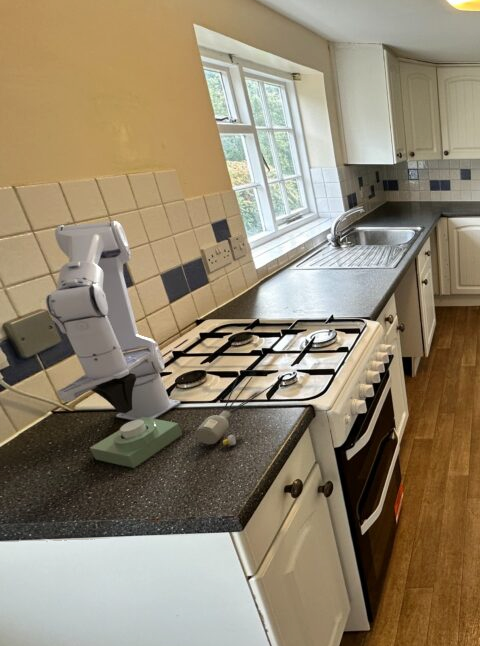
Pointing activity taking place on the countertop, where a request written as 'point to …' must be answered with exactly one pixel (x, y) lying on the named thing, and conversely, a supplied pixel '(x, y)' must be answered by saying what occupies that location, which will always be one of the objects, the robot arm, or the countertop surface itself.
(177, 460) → the countertop surface
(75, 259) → the robot arm
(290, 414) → the countertop surface
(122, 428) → the white round button
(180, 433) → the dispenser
